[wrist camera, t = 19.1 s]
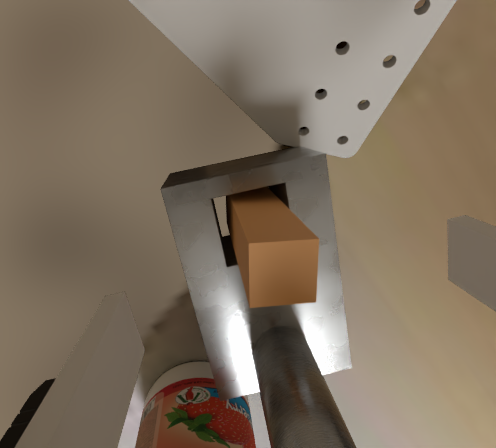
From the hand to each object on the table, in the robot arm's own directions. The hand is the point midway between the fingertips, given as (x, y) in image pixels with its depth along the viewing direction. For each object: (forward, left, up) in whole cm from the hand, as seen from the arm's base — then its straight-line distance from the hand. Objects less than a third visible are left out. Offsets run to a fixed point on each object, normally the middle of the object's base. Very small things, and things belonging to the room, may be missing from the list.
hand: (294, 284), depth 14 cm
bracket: (-3, -13, -15) cm, 20 cm away
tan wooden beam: (0, 0, -14) cm, 14 cm away
